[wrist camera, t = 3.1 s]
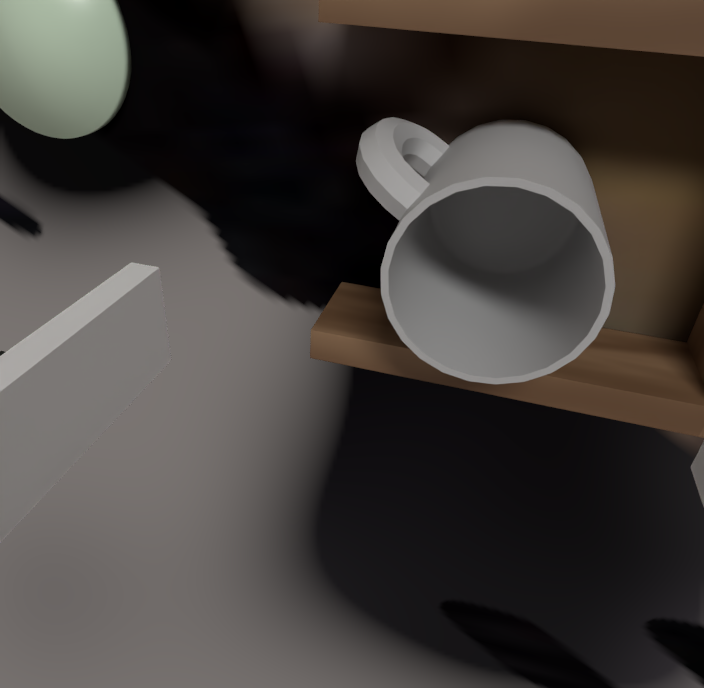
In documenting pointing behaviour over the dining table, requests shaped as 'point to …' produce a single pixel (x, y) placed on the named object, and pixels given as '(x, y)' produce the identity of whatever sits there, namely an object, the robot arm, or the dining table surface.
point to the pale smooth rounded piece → (63, 64)
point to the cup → (489, 247)
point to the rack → (610, 345)
